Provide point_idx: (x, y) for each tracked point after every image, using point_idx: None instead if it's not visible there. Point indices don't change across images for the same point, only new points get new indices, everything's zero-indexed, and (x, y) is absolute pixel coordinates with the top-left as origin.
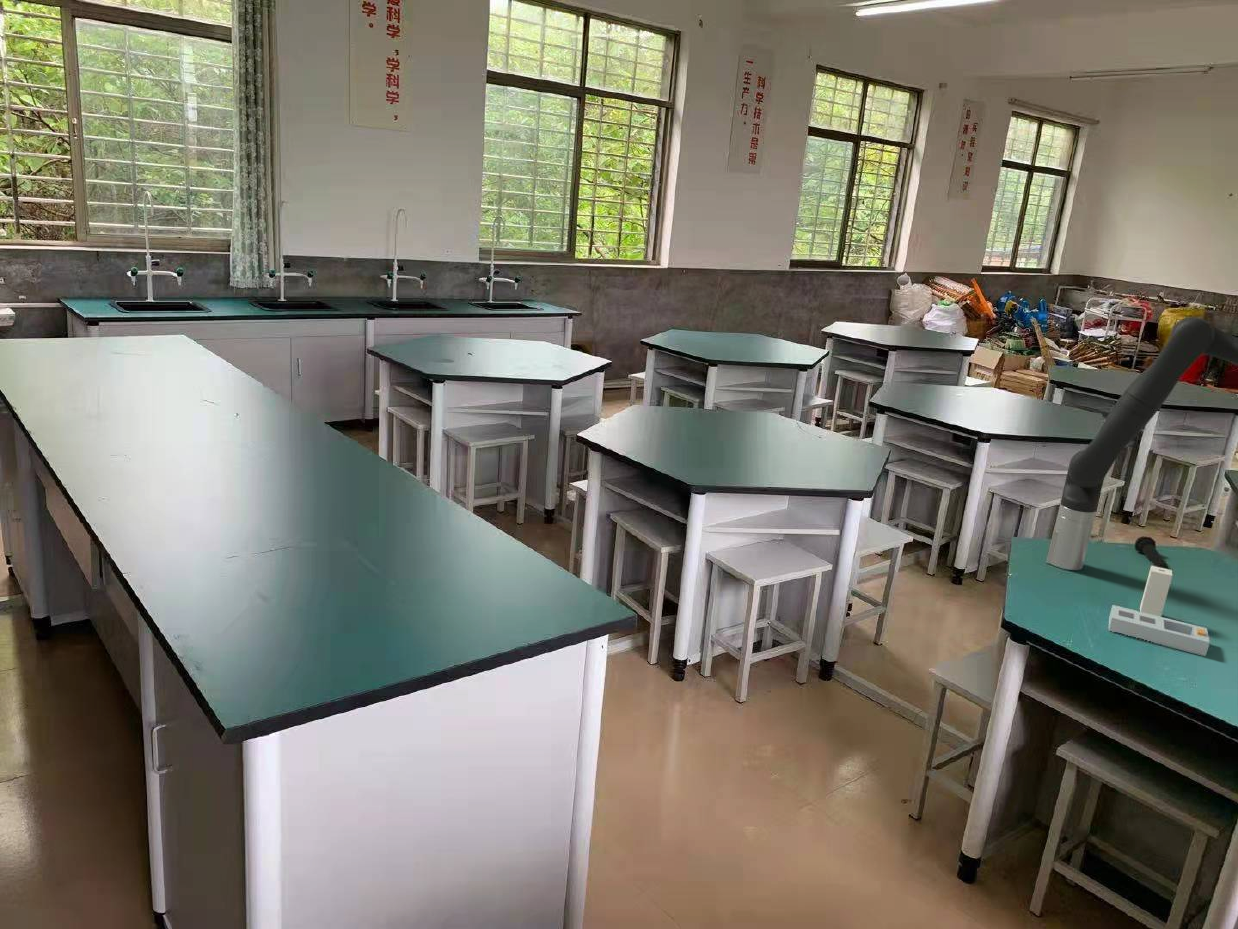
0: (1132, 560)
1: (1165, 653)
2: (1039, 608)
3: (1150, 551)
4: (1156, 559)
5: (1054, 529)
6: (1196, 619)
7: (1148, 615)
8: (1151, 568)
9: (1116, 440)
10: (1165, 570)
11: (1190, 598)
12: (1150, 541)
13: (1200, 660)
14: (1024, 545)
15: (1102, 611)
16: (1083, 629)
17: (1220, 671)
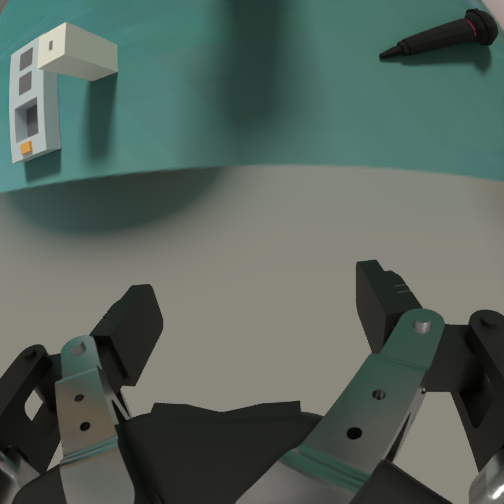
0: (408, 3)
1: (9, 124)
2: None
3: (447, 25)
4: (421, 33)
5: None
6: (139, 121)
7: (38, 77)
8: (51, 30)
9: None
10: (55, 48)
11: (254, 96)
12: (480, 26)
13: None
14: None
15: (74, 21)
16: (16, 41)
17: (8, 182)
